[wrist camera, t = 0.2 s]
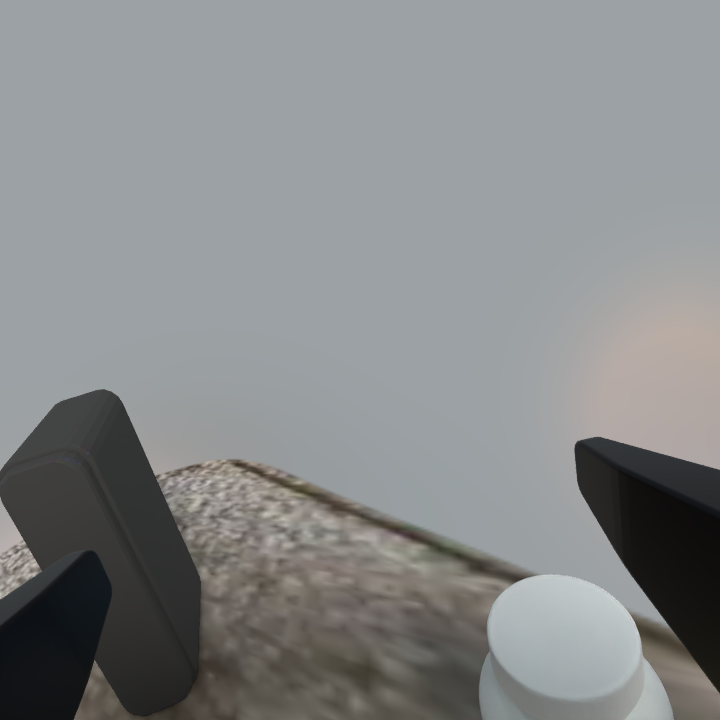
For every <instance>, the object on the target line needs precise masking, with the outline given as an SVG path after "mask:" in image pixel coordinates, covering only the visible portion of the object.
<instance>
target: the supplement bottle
mask: <svg viewBox="0 0 720 720" xmlns="http://www.w3.org/2000/svg"><path fill="white" fill-rule="evenodd" d="M487 638H488V644H489V650H490V651H489V652H488V654H487V656H486V659H485V661H484V664H483V667H482V671H481V676H480V683H479V702H480V710H481V715H482V720H674V717H673V712H672V708H671V705H670V702H669V699H668V696H667V694H666V691H665V689H664V687H663V685H662V683H661V681H660V679H659V677H658V676H657V674H656V673H655V671H654V670H653V668H652V667H651V665H650V664H649V663H648V662H647V660H646V659H645V658H644V657H643V654H642V645H641V639H640V635H639V632H638V629H637V627H636V625H635V622H634V620H633V619H632V617H631V615H630V614H629V613H628V611H627V610H626V609H625V607H624V606H623V605H622V604H621V603H620V602H619V601H617V599H615V598H614V597H613V596H612V595H611V594H609V593H608V592H606V591H605V590H603V589H602V588H600V587H598V586H596V585H594V584H592V583H589V582H587V581H585V580H582V579H579V578H575V577H571V576H565V575H556V574H547V575H538V576H533V577H529V578H526V579H523V580H521V581H518V582H516V583H514V584H513V585H511V586H509V587H508V588H507V589H506V590H504V591H503V592H502V593H501V594H500V595H499V596H498V597H497V599H496V600H495V602H494V603H493V605H492V607H491V610H490V612H489V616H488V621H487Z"/></svg>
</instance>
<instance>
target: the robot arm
mask: <svg viewBox="0 0 720 720" xmlns="http://www.w3.org/2000/svg"><path fill="white" fill-rule="evenodd" d="M575 461H576V472H577V481H578V486H579V489H580V491H581V493H582V495H583V497H584V499H585V500H586V502H587V504H588V505H589V507H590V509H591V511H592V512H593V514H594V516H595V517H596V519H597V521H598V523H599V524H600V526H601V527H602V529H603V531H604V533H605V534H606V536H607V538H608V539H609V541H610V543H611V545H612V546H613V548H614V550H615V551H616V553H617V554H618V556H619V558H620V559H621V561H622V563H623V564H624V566H625V567H626V568H627V569H628V571H629V573H630V574H631V576H632V577H633V578H634V580H635V581H636V582H637V584H638V585H639V586H640V588H641V589H642V590H643V592H644V593H645V594H646V596H647V597H648V598H649V600H650V601H651V602H652V604H653V605H654V606H655V608H656V609H657V610H658V612H659V613H660V614H661V616H662V617H663V618H664V620H665V621H666V622H667V624H668V625H669V626H670V628H671V629H672V630H673V632H674V633H675V634H676V636H677V637H678V638H679V640H680V641H681V642H682V644H683V645H684V646H685V648H686V649H687V650H688V652H689V653H690V654H691V656H692V657H693V658H694V660H695V661H696V662H697V664H698V665H699V666H700V668H701V669H702V671H703V672H704V673H705V675H706V676H707V677H708V679H709V680H710V681H711V683H712V684H713V685H714V687H715V688H716V689H717V691H718V692H719V693H720V470H718V469H714V468H710V467H707V466H704V465H700V464H696V463H692V462H689V461H685V460H682V459H678V458H674V457H671V456H667V455H664V454H659V453H656V452H652V451H649V450H645V449H642V448H638V447H634V446H630V445H627V444H624V443H620V442H616V441H613V440H609V439H605V438H602V437H593V438H588V439H584V440H580V441H577V443H576V444H575ZM111 599H112V585H111V582H110V580H109V577H108V575H107V573H106V571H105V569H104V567H103V564H102V562H101V560H100V558H99V556H98V554H97V553H96V552H95V551H94V550H91V549H87V550H82V551H78V552H73V553H70V554H68V555H66V556H64V557H63V558H62V559H60V560H59V561H57V562H56V563H54V564H53V565H51V566H50V567H48V568H47V569H45V570H44V571H42V572H41V573H39V574H38V575H36V576H35V577H33V578H32V579H30V580H29V581H27V582H26V583H24V584H23V585H21V586H20V587H18V588H17V589H15V590H14V591H13V592H11V593H10V594H8V595H7V596H5V597H4V598H2V599H1V600H0V720H74V718H75V715H76V712H77V710H78V707H79V705H80V702H81V699H82V697H83V694H84V691H85V688H86V686H87V683H88V680H89V676H90V673H91V670H92V667H93V663H94V660H95V656H96V653H97V649H98V645H99V642H100V638H101V635H102V631H103V628H104V624H105V621H106V617H107V614H108V610H109V606H110V603H111Z"/></svg>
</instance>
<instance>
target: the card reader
mask: <svg viewBox="0 0 720 720" xmlns="http://www.w3.org/2000/svg"><path fill="white" fill-rule="evenodd" d="M0 497H1V500H2V503H3V505H4V507H5V508H6V510H7V512H8V513H9V515H10V517H11V518H12V520H13V522H14V524H15V525H16V527H17V529H18V531H19V532H20V534H21V536H22V537H23V539H24V541H25V543H26V544H27V546H28V548H29V549H30V551H31V553H32V554H33V556H34V558H35V560H36V561H37V563H38V565H39V566H40V568H41V570H42V571H44V570H45V569H47V568H48V567H50V566H51V565H53V564H54V563H56V562H57V561H59V560H60V559H62V558H63V557H64V556H66V555H68V554H70V553H73V552H78V551H82V550H87V549H91V550H94V551H95V552H96V553H97V554H98V556H99V558H100V560H101V562H102V564H103V567H104V569H105V571H106V573H107V575H108V577H109V580H110V582H111V585H112V599H111V603H110V606H109V610H108V614H107V617H106V621H105V624H104V628H103V631H102V635H101V638H100V642H99V645H98V649H97V653H96V656H95V661H96V662H97V664H98V666H99V667H100V669H101V671H102V672H103V674H104V676H105V677H106V679H107V680H108V682H109V684H110V685H111V687H112V689H113V690H114V692H115V693H116V695H117V697H118V698H119V700H120V702H121V703H122V705H123V706H124V708H125V709H126V710H127V711H128V712H130V713H132V714H134V715H138V716H147V715H149V714H152V713H154V712H156V711H159V710H161V709H163V708H165V707H168V706H170V705H172V704H175V703H177V702H179V701H181V700H183V699H184V698H185V697H186V696H187V694H188V693H189V691H190V689H191V685H192V683H193V682H194V680H195V679H196V676H197V672H198V646H199V617H200V589H201V581H200V576H199V574H198V572H197V570H196V567H195V565H194V563H193V561H192V558H191V556H190V554H189V552H188V549H187V547H186V545H185V543H184V541H183V538H182V536H181V534H180V532H179V529H178V527H177V525H176V523H175V520H174V518H173V516H172V514H171V511H170V509H169V507H168V505H167V502H166V500H165V498H164V495H163V493H162V491H161V489H160V486H159V484H158V482H157V480H156V477H155V475H154V473H153V470H152V468H151V466H150V464H149V461H148V459H147V457H146V455H145V452H144V450H143V448H142V446H141V443H140V441H139V439H138V436H137V434H136V432H135V430H134V428H133V425H132V423H131V421H130V418H129V416H128V414H127V412H126V410H125V407H124V405H123V403H122V401H121V400H120V399H119V397H118V396H116V395H115V394H114V393H112V392H111V391H107V390H104V389H103V390H96V391H93V392H89V393H86V394H83V395H80V396H77V397H73V398H70V399H67V400H64V401H61V402H59V403H57V404H56V405H55V406H54V407H53V408H52V409H51V410H50V412H49V413H48V414H47V415H46V416H45V418H44V419H43V420H42V421H41V422H40V423H39V425H38V426H37V427H36V428H35V429H34V431H33V432H32V433H31V434H30V435H29V437H28V438H27V439H26V440H25V441H24V443H23V444H22V445H21V446H20V447H19V448H18V450H17V451H16V452H15V453H14V454H13V456H12V457H11V458H10V459H9V460H8V462H7V463H6V464H5V465H4V467H3V468H2V469H1V471H0Z"/></svg>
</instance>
